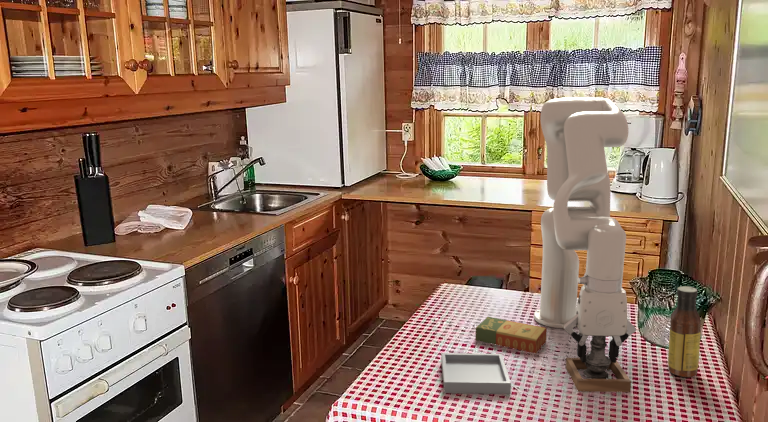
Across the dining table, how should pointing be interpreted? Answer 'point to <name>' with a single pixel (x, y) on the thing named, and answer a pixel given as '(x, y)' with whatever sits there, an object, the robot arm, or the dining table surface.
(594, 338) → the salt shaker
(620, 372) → the wooden square frame
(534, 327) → the carton
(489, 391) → the tray
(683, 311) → the sauce bottle
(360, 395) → the dining table surface
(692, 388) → the dining table surface
